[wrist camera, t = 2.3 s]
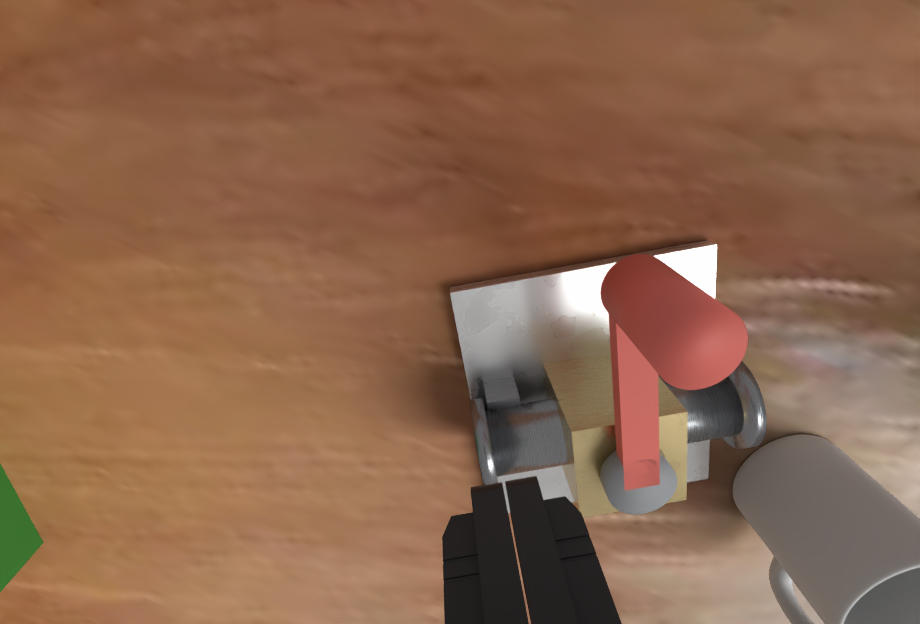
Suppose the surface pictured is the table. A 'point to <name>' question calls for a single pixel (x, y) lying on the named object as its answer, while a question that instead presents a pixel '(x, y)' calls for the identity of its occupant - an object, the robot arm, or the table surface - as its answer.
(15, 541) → the hardback book
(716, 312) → the lever
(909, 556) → the mug
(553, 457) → the valve body
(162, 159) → the table surface
